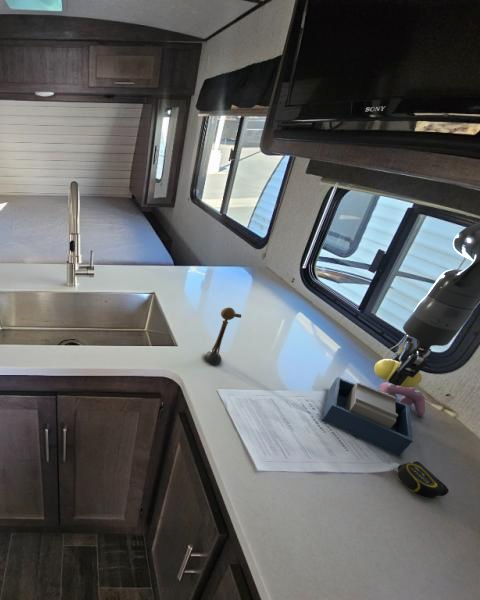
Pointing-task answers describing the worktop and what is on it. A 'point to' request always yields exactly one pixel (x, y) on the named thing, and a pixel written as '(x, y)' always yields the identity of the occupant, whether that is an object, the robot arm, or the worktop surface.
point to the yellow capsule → (389, 366)
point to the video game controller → (406, 396)
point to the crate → (368, 421)
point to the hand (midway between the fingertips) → (393, 376)
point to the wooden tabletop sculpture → (220, 337)
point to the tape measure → (421, 480)
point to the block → (372, 404)
